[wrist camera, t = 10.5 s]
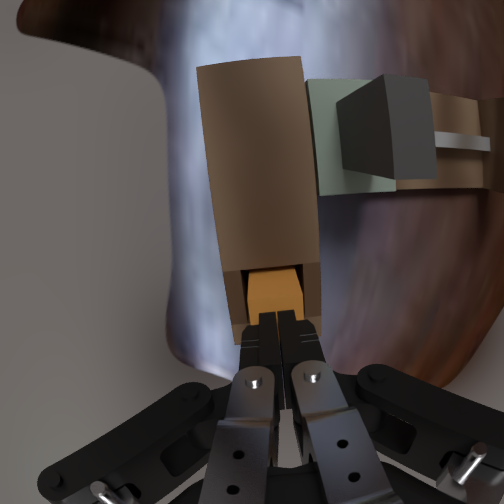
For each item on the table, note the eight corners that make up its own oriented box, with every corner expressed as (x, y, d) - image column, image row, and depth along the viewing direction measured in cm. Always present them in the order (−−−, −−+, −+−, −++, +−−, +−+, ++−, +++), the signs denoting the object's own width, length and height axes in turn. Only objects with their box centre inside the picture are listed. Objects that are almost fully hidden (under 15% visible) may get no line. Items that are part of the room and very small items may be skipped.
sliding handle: (365, 91, 18) (448, 52, 8) (374, 184, 20) (463, 214, 10) (298, 91, 18) (338, 35, 8) (308, 188, 20) (358, 222, 10)
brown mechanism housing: (484, 104, 18) (543, 100, 11) (484, 255, 23) (535, 286, 15) (217, 97, 20) (196, 67, 12) (241, 286, 24) (235, 344, 17)
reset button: (291, 259, 17) (302, 294, 13) (294, 297, 18) (304, 339, 13) (249, 264, 17) (247, 300, 13) (254, 301, 18) (253, 344, 14)
